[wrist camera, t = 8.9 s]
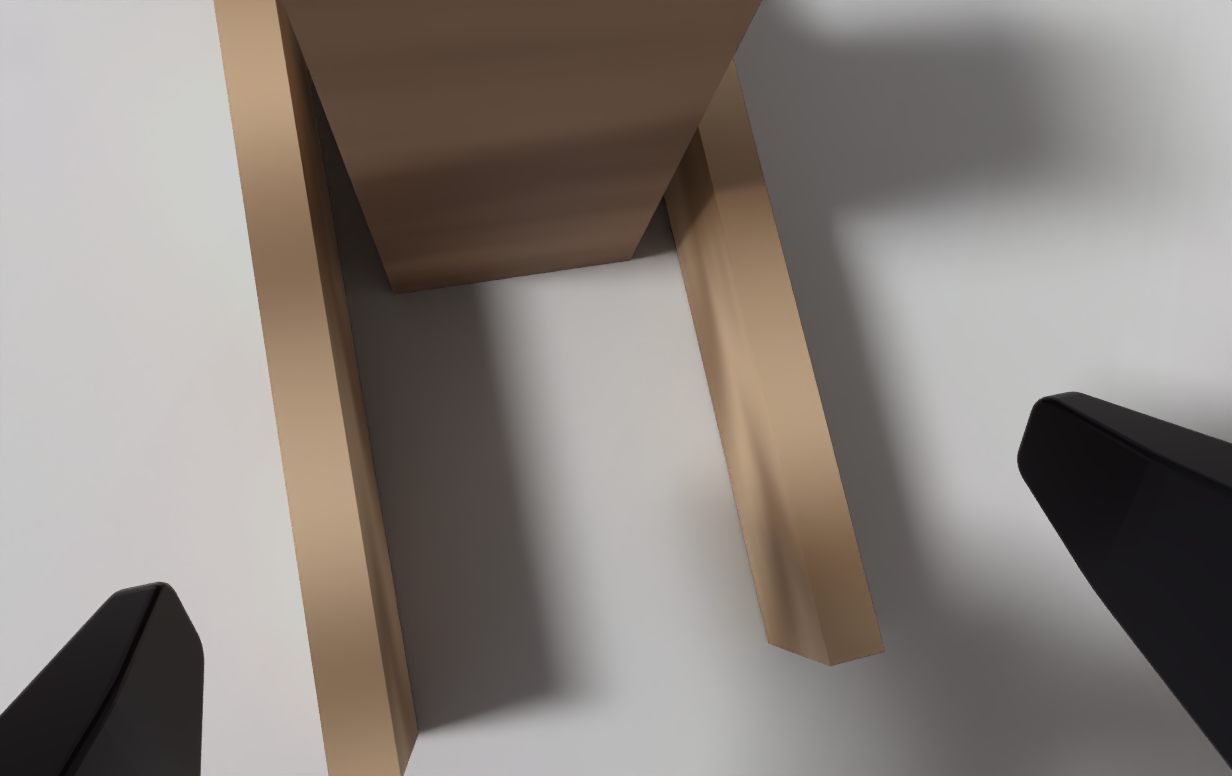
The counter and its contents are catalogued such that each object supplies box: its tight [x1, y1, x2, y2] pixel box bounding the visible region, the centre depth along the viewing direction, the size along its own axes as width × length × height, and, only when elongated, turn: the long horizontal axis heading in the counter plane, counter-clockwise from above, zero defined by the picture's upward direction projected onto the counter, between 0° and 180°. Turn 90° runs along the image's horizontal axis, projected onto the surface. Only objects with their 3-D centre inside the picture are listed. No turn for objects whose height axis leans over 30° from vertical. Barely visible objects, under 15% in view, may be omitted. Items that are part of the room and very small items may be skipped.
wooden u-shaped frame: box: [214, 0, 885, 776], centre depth 15 cm, size 20×9×4 cm, turn 12°
